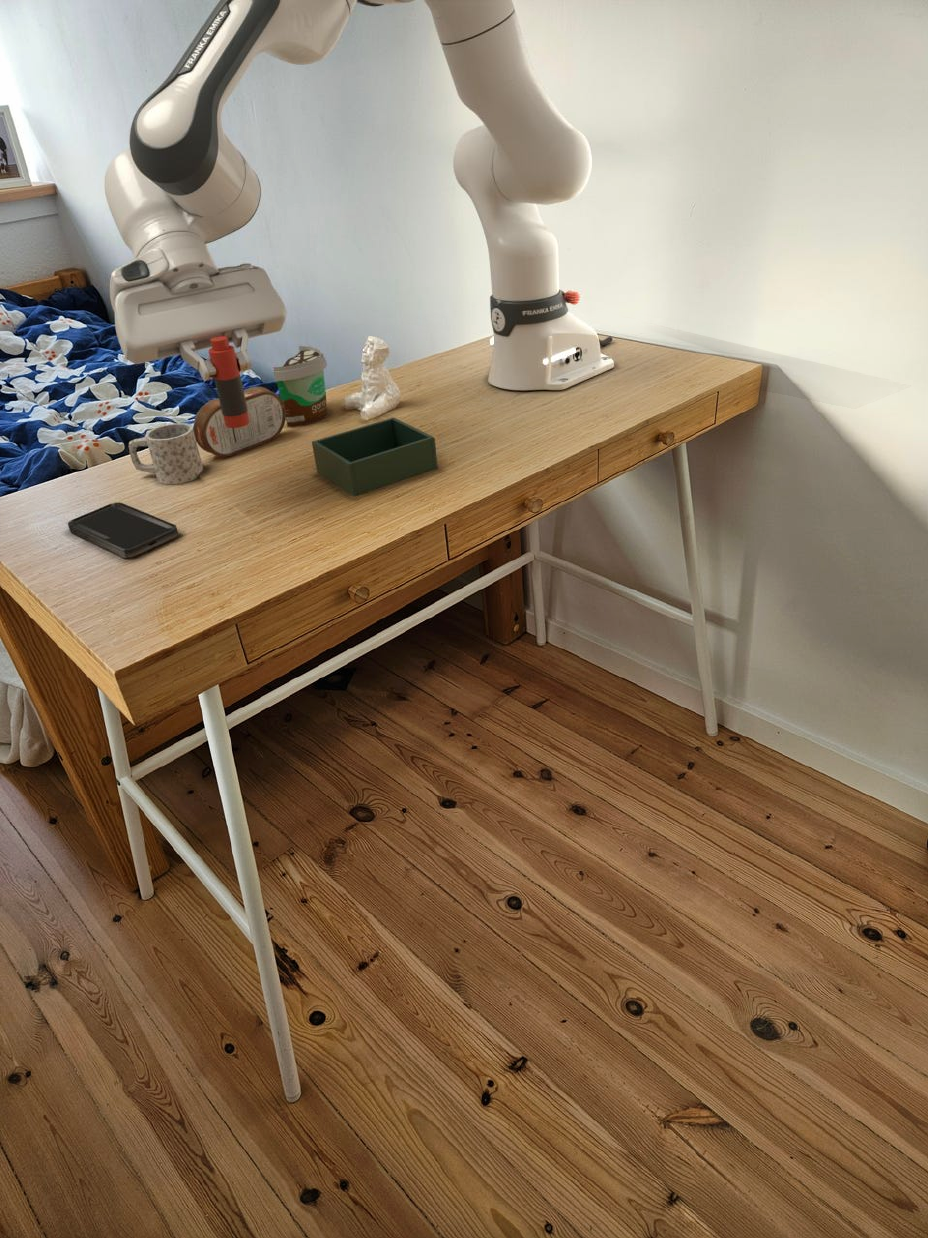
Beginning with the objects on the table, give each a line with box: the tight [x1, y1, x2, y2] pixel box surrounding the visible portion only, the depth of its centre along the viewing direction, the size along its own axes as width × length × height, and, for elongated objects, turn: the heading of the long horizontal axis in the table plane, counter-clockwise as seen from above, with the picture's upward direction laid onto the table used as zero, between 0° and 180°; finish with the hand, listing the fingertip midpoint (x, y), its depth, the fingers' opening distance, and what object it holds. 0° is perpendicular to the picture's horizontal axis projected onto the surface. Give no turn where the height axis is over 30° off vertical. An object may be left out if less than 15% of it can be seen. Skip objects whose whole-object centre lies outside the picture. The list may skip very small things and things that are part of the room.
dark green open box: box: [311, 416, 439, 497], centre depth 124 cm, size 13×11×5 cm
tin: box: [193, 386, 286, 458], centre depth 136 cm, size 15×3×8 cm, turn 134°
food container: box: [272, 345, 328, 428], centre depth 145 cm, size 12×6×10 cm, turn 168°
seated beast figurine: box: [344, 335, 402, 421], centre depth 145 cm, size 10×9×12 cm
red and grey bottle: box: [208, 336, 250, 428], centre depth 108 cm, size 3×3×10 cm
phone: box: [67, 501, 180, 559], centre depth 115 cm, size 8×1×15 cm
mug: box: [128, 422, 204, 485], centre depth 129 cm, size 10×7×7 cm, turn 86°
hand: (227, 372), depth 107 cm, fingers closed on red and grey bottle, 3 cm apart
